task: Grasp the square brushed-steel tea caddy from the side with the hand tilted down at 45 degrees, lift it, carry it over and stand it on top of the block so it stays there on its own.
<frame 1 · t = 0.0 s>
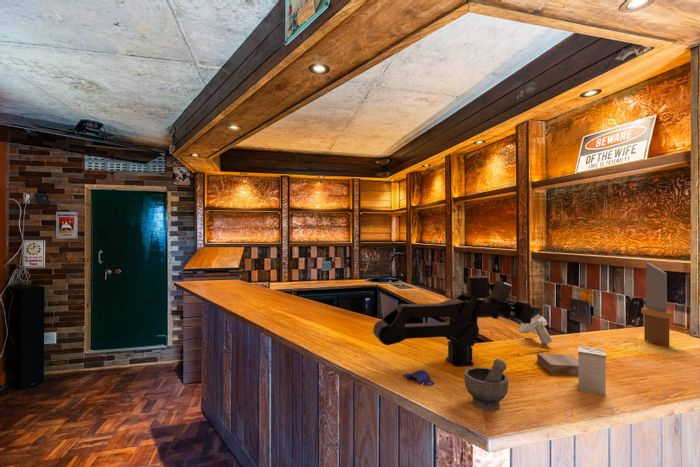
hand: (530, 306, 114), 17 cm above the worktop, tool horizontal, fingers open, 9 cm apart
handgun: (534, 339, 135), on the worktop
block: (561, 369, 105), on the worktop
knife: (656, 343, 131), on the worktop
tin: (591, 389, 90), on the worktop
mortar and pestle: (487, 406, 81), on the worktop
blue animal figurine: (418, 382, 95), on the worktop
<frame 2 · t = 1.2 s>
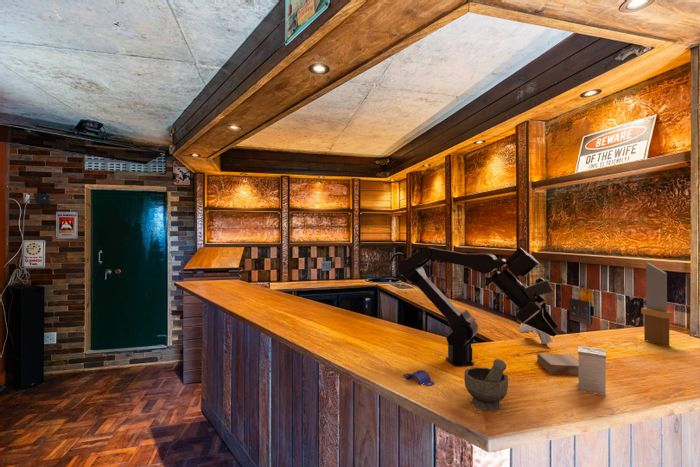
hand: (556, 331, 95), 14 cm above the worktop, tool tilted 45°, fingers open, 9 cm apart
nothing on the worktop moved.
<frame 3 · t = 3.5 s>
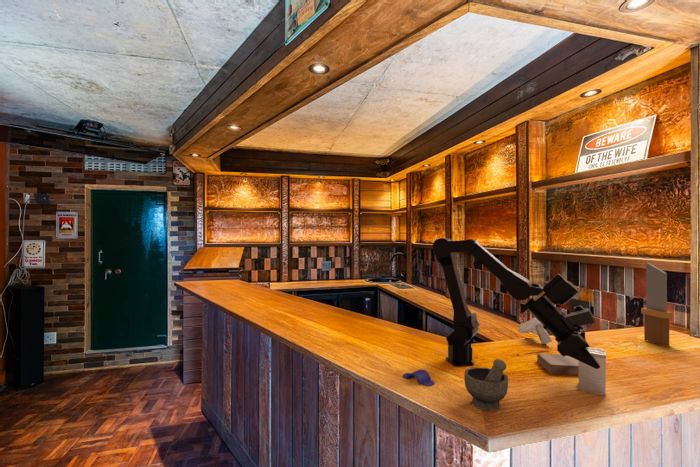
hand: (598, 364, 89), 7 cm above the worktop, tool tilted 45°, fingers closed on tin, 6 cm apart
tin: (591, 388, 90), on the worktop, touching gripper
everything else where it was.
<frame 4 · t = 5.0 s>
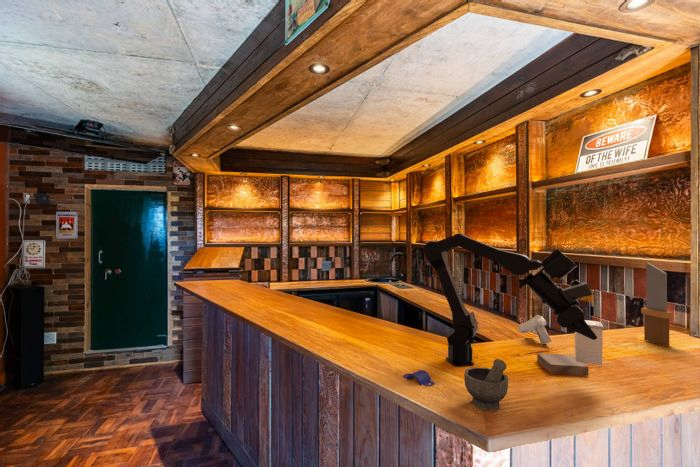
hand: (594, 336, 91), 13 cm above the worktop, tool tilted 45°, fingers closed on tin, 6 cm apart
tin: (587, 360, 92), point 7 cm above the worktop, touching gripper
everything else where it was.
when the fingers open (10 cm above the worktop, at t = 6.9 s): tin drops 1 cm, resting on block.
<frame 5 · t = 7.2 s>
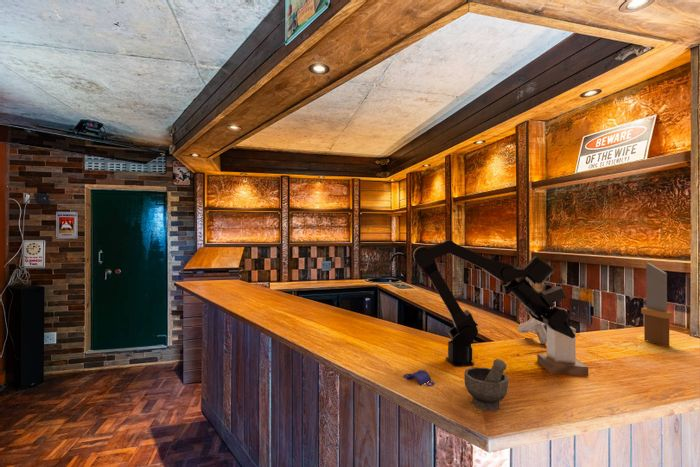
hand: (566, 333, 105), 11 cm above the worktop, tool tilted 45°, fingers open, 9 cm apart
block: (561, 369, 105), on the worktop, touching tin
tin: (560, 359, 105), point 2 cm above the worktop, touching block
everything else where it was.
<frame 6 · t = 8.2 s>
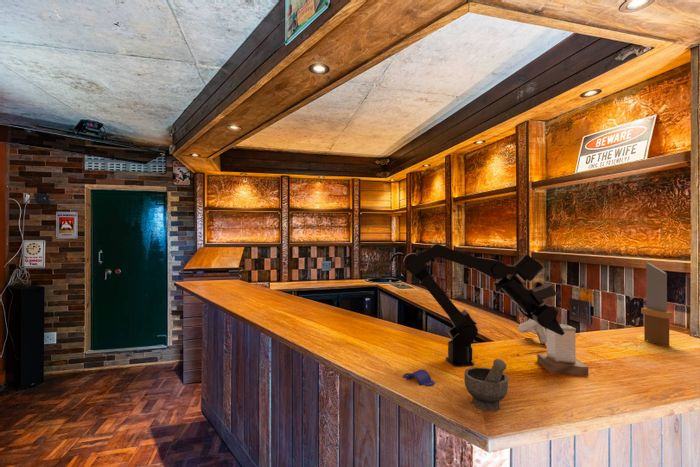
hand: (556, 330, 105), 11 cm above the worktop, tool tilted 45°, fingers open, 9 cm apart
block: (561, 369, 105), on the worktop
tin: (560, 359, 105), point 2 cm above the worktop
everything else where it was.
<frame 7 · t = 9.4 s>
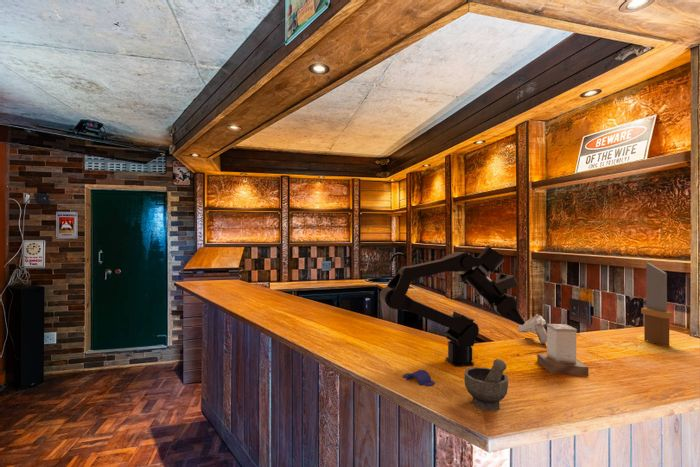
hand: (518, 320, 108), 13 cm above the worktop, tool tilted 45°, fingers open, 9 cm apart
nothing on the worktop moved.
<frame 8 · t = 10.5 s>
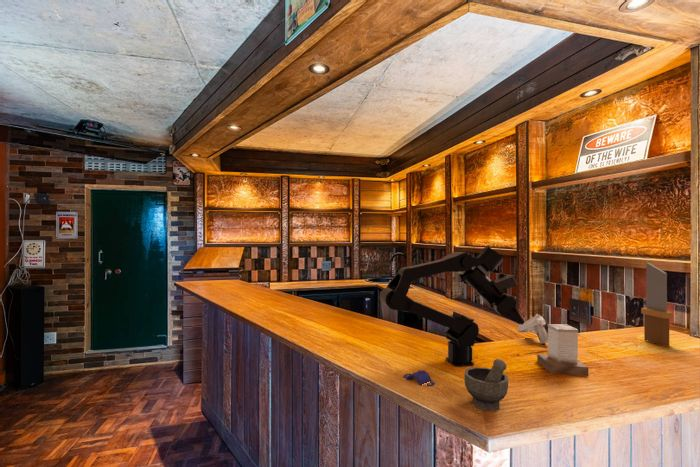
hand: (518, 319, 108), 14 cm above the worktop, tool tilted 45°, fingers open, 9 cm apart
block: (561, 370, 105), on the worktop, touching tin
tin: (562, 359, 105), point 2 cm above the worktop, touching block
at the end: tin inside the target area on the block (0.4 cm from its centre), point 3.1 cm above the block's base; tin tilted 1°; the gripper is holding nothing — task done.
